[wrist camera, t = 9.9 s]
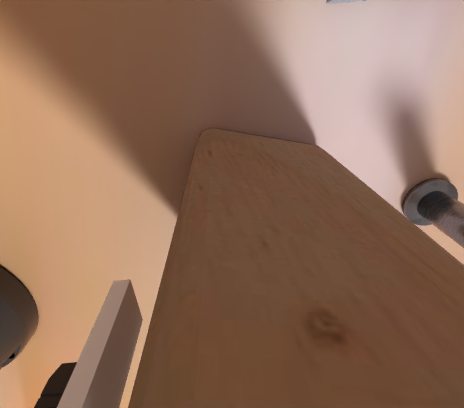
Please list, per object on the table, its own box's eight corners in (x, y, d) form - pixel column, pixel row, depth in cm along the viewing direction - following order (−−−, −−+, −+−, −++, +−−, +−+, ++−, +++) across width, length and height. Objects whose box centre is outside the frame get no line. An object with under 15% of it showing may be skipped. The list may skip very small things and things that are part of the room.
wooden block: (200, 123, 21) (90, 500, 3) (325, 144, 22) (796, 502, 4) (186, 233, 25) (112, 646, 7) (291, 245, 26) (444, 627, 9)
